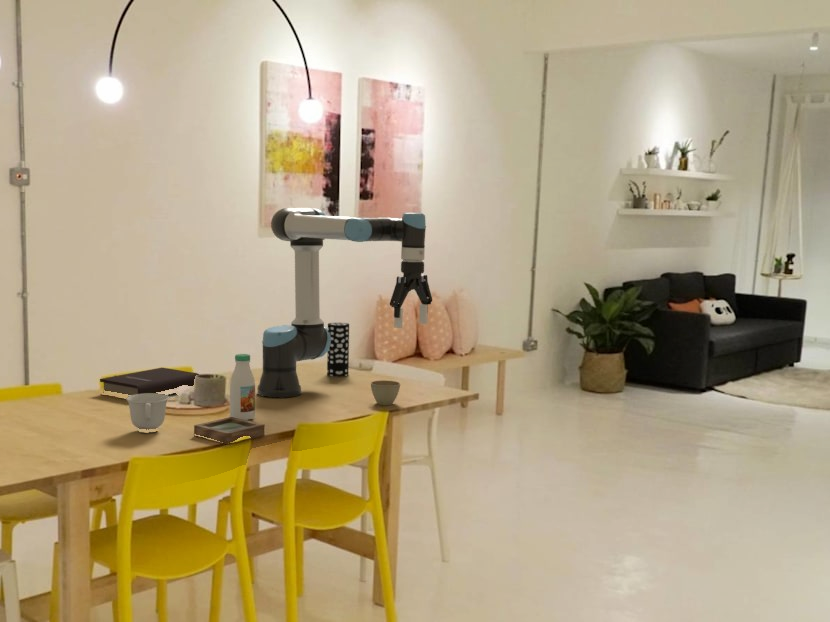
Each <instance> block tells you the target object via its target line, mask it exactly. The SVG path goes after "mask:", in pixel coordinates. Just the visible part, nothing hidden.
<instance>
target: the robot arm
mask: <svg viewBox="0 0 830 622" xmlns="http://www.w3.org/2000/svg"><path fill="white" fill-rule="evenodd" d="M426 224H427V223H426V215H425V214H424V213H421V212H420V213H419V212H404V213H403V214H402V217H401V218H397V217H396V218H395V217H387V216H385V217H384V216H383V217H382V216H381V217H359V216H357V217H355V216H337V215H334V216H333V215H331V216H330V215H326V214H325V213H324V212H323V211H322V210H321V209H318V208H315V207H314V208H312V207H285V208H281V209H279V210H277V211H276V212H275V213H274V214H273V216H272V217H271V222H270V228H271V231H272V233H273V234H274V236H275V237H276V238H277V239H279V240H281V241H285V242H289V244H290V246H289V247H290V248H292V250H293V251H294V287H295V288H294V289H295V290H294V292H295V295H294V296H295V298H294V299H295V305H294V306H295V307H294V308H295V318H293V320H292V321H291V323H290V324H291V325H287V324H286V325H285V324H284V325H282V324H281V325H276V326H275V325H274V326H271V327H268V328H266V329H265V330H264V331H263V334H262V341H261V343H262V373H261V375H260V379H259V384H258V385H257V393H258V394H260V395H263V396H262V397H264V396H268V397H267V398H272V397H279V398H280V399H283V398H284V399H285V397H286V398H293V397H298V396H300V395H301V394H302V386H301V385H300V381H299V378H298V374H297V362H302V361H307V360H316V359H318V358H322V357H323V356H325V355H326V354H327V351H328V350H329V347H330V344H331V337H330V333H329V332H328V327H325V321H324V320H323V319H322V318H321V316H320V314H321V313H320V310H321V309H320V250H321V249H322V248H323V247H324V241H325V240H339V241H340V240H341V241H351V242H355V243H362V242H401V249H400V250H401V251H400V252H401V253H400V255H401V256H400V259H401V262H400V272H401V273H402V274H403V276H401V275H399V276H397V277H396V280H395V285H394V289H393V292H392V295H391V299H390V300H389V301H390V302H389V306H390V307H391V308H394V309H393V316H394V319H393V320H394V321H393V322H394V323H393V324H394V325H393V328H396V329H403V316H404V308H403V307H402V306H403V304H404V303H405V300H406V298H407V296H408V294H409V293H410V292H411V291H412V290H414V291H415V293H416V295H417V297H418V299H419V301H420V303H419V313H418V324H420V325H428V312H429V311H428V310H429V305H431V304H432V302H433V296H432V292H431V289H430V286H429V282H428V275H427V274H424V272H425V262H424V260H425V248H426V247H425V246H426V245H425V243H426V242H425V241H426V231H427V230H426V228H427V226H426ZM258 394H257V395H258ZM260 395H259V396H260ZM279 398H278V399H279Z"/></svg>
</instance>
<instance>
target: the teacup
mask: <svg viewBox="0 0 830 622" xmlns="http://www.w3.org/2000/svg"><path fill="white" fill-rule="evenodd" d="M169 399H170V395H168V396H167V395H165V394H158V393H144V394H135V395H131V396H128V397H127V398H126V400H125V401H127V402H128V408H129V413H130V414H129V415H130V420H131V423H132V425H133V426H134V427H136V428H137V429H138V428H139V429H146V430H147V429H148V430H149V429H156V428H158V429H159V427H160V426H162V425H163V424H164V421H165V417H166V409H167V403H168V400H169Z"/></svg>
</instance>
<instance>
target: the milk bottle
mask: <svg viewBox="0 0 830 622" xmlns="http://www.w3.org/2000/svg"><path fill="white" fill-rule="evenodd" d="M234 362H235V366H234V370H233V372H232V374H231V376H230V382H229V417H234V418H238V419H243V420H247V421H249V420H248V419H252V420H254V419H255V418H256V383H255V382H256V379H255V377H254V373H253V372H252V369H251V366H250V363H251V355H250V354H248V353H239V354H235V356H234ZM254 417H255V418H254ZM253 418H254V419H253Z"/></svg>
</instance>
